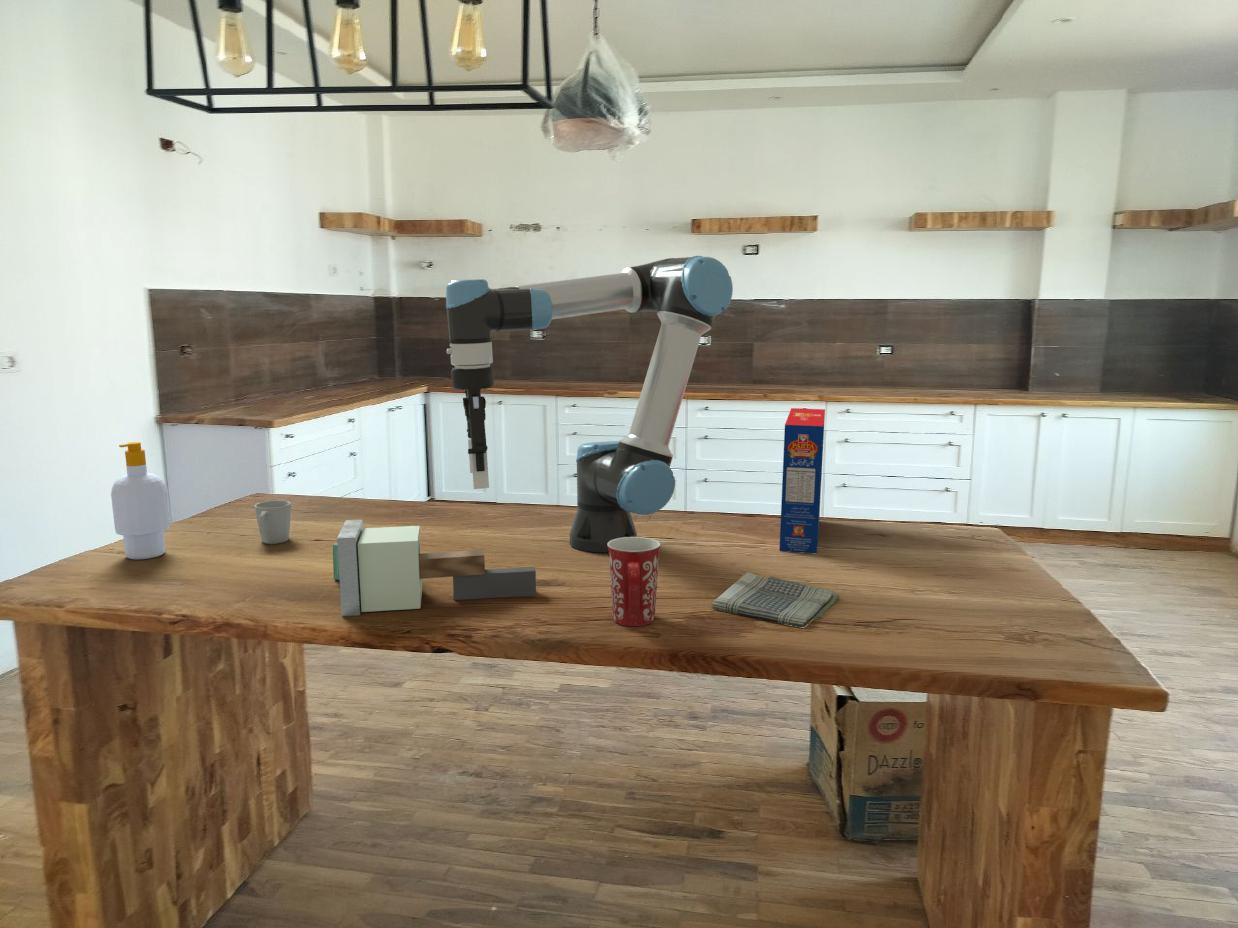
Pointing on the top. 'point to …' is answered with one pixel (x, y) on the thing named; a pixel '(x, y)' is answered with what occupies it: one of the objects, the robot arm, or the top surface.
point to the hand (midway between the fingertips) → (479, 480)
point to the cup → (273, 520)
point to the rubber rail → (496, 584)
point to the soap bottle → (140, 507)
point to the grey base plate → (349, 567)
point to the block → (390, 568)
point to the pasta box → (802, 480)
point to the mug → (633, 579)
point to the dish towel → (775, 600)
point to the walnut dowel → (451, 564)
